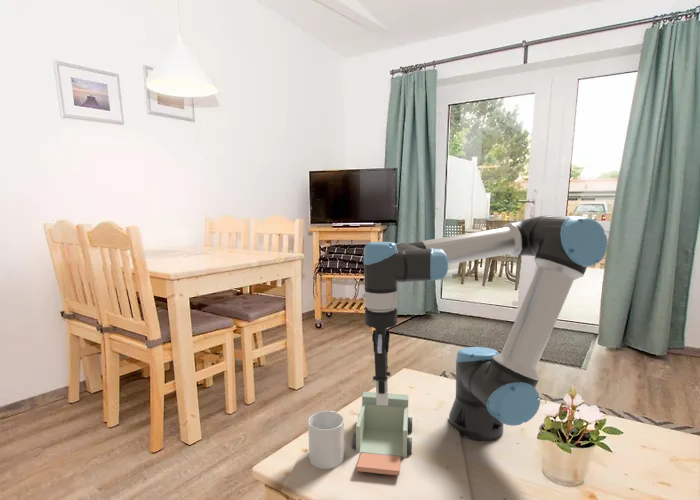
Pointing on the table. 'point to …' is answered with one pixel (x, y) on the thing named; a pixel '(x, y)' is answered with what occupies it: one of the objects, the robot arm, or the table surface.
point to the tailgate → (379, 463)
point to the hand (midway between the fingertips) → (382, 403)
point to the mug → (326, 439)
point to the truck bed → (383, 426)
